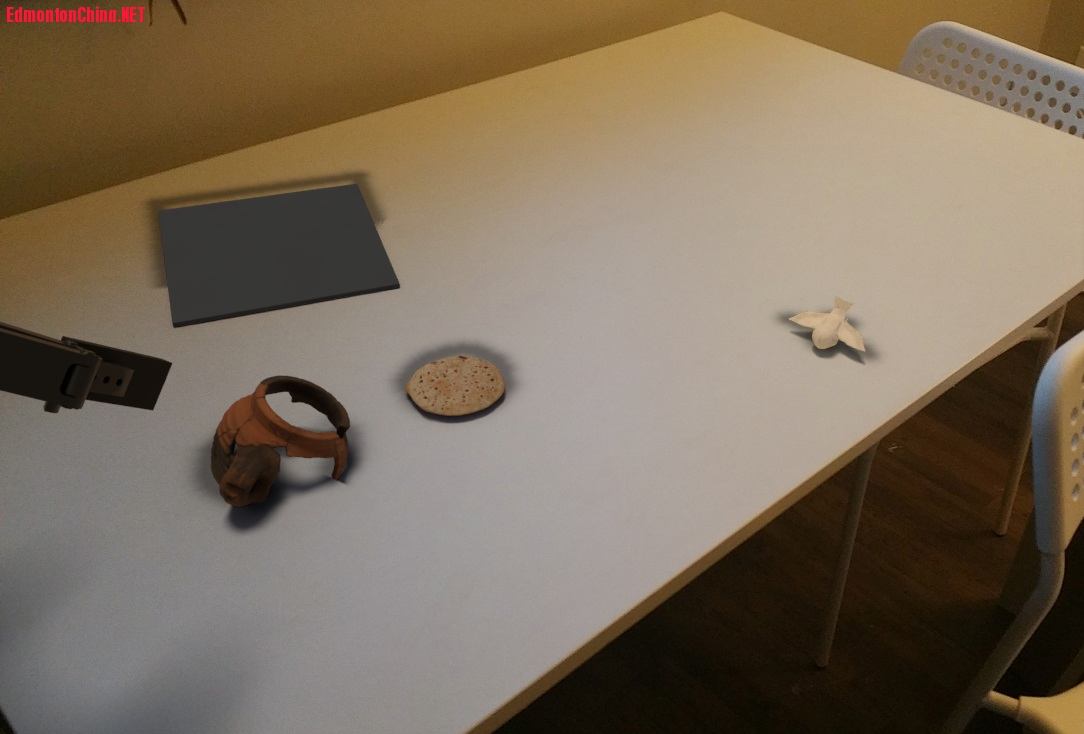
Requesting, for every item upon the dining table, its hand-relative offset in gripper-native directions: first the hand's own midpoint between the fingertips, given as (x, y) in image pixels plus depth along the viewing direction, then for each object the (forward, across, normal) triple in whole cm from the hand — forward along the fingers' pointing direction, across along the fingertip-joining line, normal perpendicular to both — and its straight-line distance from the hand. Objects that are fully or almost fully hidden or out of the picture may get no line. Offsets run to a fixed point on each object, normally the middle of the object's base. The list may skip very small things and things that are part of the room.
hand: (64, 344), depth 54 cm
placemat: (+38, -20, +11) cm, 45 cm away
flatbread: (+32, +7, +4) cm, 33 cm away
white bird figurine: (+49, +33, +20) cm, 62 cm away
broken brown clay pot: (+22, +1, -6) cm, 23 cm away
